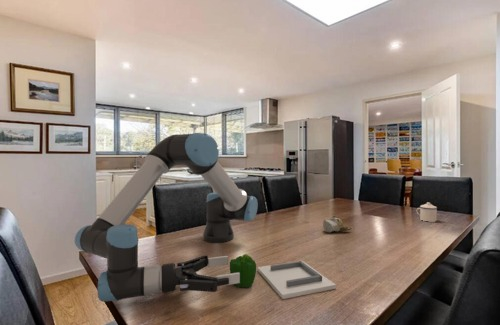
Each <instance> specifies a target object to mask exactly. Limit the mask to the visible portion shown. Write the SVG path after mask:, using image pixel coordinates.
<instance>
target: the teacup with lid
mask: <svg viewBox="0 0 500 325" xmlns="http://www.w3.org/2000/svg"><path fill="white" fill-rule="evenodd" d="M437 209H438V207H437V206H435V205H433V204H432V203H431V202H428V201H427V202H426V203H425V204H421V205H420V206H419V207H417V208H416V213H417V215H418V216H419V217H420V218H419V219H420V220H419V221H421V220H423V221H422V222H424V221H429V222H428V223H436V222H435V221H437V218H438V216H437V215H438V213H437V212H438V210H437Z"/></svg>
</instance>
